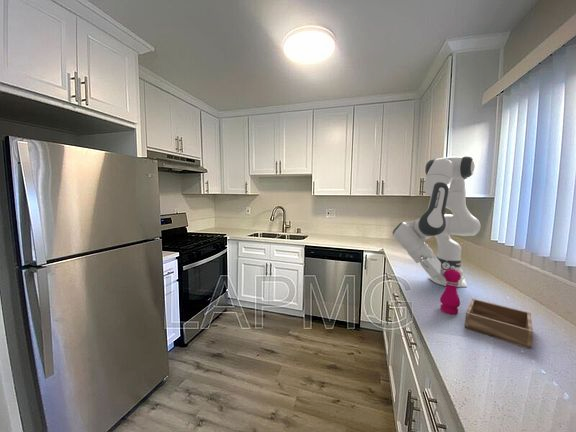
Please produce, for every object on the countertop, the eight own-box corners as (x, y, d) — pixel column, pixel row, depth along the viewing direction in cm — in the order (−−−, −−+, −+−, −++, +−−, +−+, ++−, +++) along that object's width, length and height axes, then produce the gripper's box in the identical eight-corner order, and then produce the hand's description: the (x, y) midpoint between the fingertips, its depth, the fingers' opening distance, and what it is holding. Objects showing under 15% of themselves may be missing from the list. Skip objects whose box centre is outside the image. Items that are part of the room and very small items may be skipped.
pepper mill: (437, 310, 107) (441, 265, 105) (441, 305, 112) (445, 262, 110) (457, 316, 102) (461, 269, 100) (460, 311, 107) (464, 266, 105)
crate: (470, 311, 107) (472, 298, 106) (528, 327, 95) (530, 312, 94) (464, 328, 93) (465, 312, 93) (531, 349, 81) (533, 331, 81)
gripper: (426, 254, 101) (453, 282, 97) (429, 246, 118) (452, 269, 114) (413, 263, 104) (438, 291, 99) (418, 253, 121) (440, 277, 117)
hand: (445, 279), depth 107 cm, fingers open, 8 cm apart
